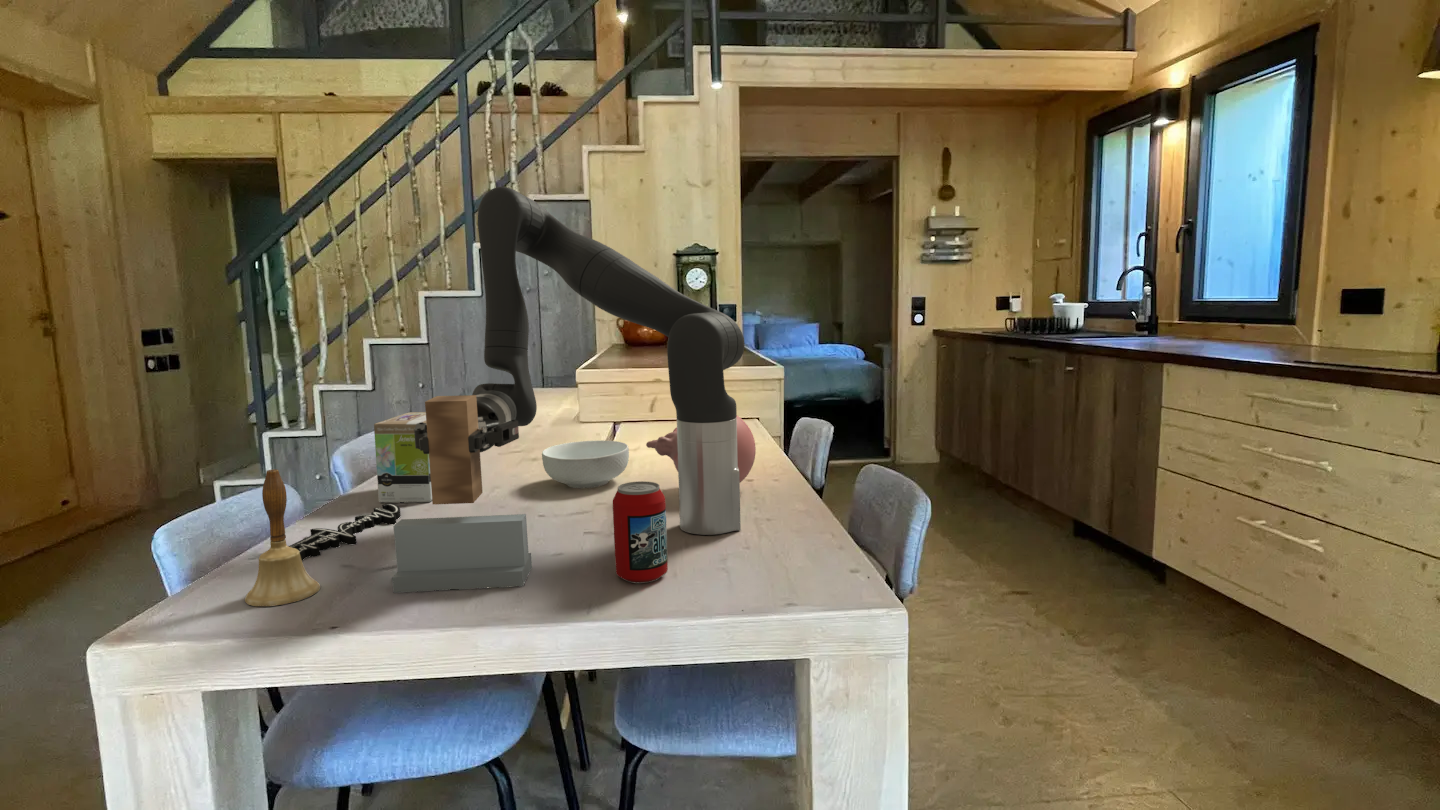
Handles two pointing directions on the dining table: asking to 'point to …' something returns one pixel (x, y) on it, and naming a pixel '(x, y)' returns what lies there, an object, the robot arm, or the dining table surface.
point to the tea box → (401, 461)
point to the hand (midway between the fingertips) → (448, 445)
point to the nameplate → (345, 531)
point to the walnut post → (453, 449)
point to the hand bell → (279, 556)
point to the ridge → (461, 553)
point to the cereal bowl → (585, 462)
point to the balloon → (744, 447)
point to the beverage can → (640, 532)
